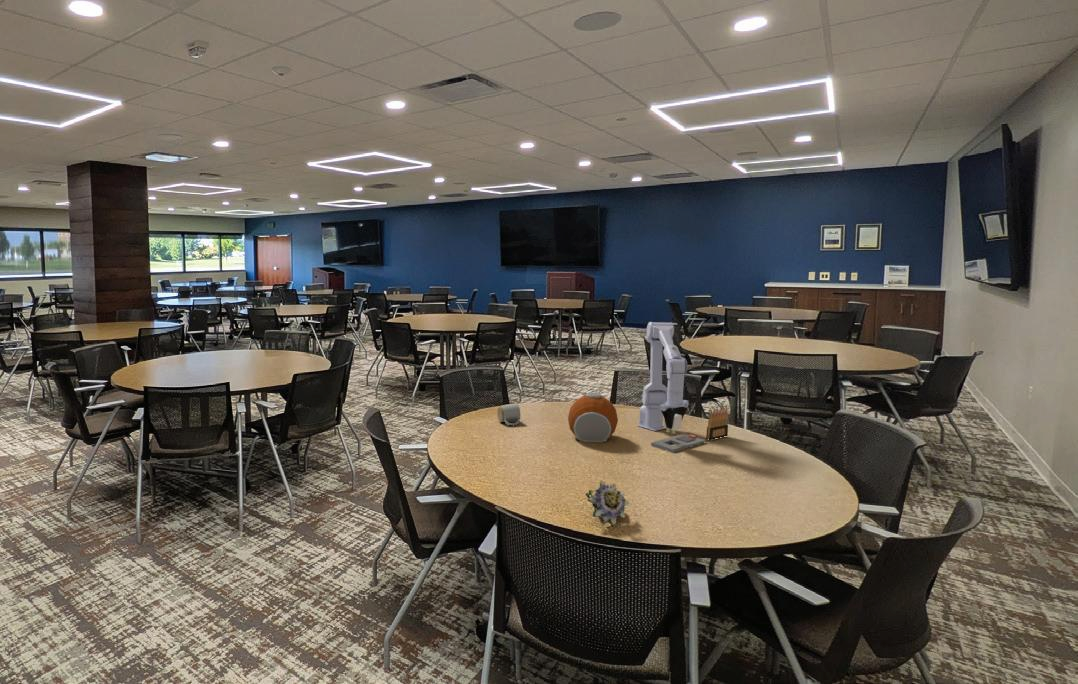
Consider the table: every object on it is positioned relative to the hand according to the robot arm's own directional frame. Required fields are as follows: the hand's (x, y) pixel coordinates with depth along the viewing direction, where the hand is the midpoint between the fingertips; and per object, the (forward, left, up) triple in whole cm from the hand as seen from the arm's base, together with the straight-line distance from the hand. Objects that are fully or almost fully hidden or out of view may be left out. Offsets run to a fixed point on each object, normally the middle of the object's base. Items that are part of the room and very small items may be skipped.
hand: (673, 427), depth 213 cm
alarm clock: (-25, -17, -8) cm, 31 cm away
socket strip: (0, +4, -7) cm, 8 cm away
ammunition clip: (+4, +23, -8) cm, 25 cm away
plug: (0, 0, -2) cm, 2 cm away
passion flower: (+28, -65, -8) cm, 71 cm away
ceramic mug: (-60, -30, -8) cm, 67 cm away
